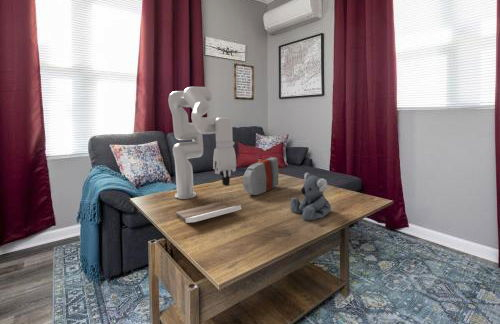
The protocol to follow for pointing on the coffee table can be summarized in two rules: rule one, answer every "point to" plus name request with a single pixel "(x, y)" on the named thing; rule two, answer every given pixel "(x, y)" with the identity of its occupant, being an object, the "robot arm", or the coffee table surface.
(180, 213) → the walnut plank
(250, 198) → the coffee table surface
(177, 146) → the robot arm
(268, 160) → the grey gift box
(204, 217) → the off-white plank
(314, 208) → the koala plush
